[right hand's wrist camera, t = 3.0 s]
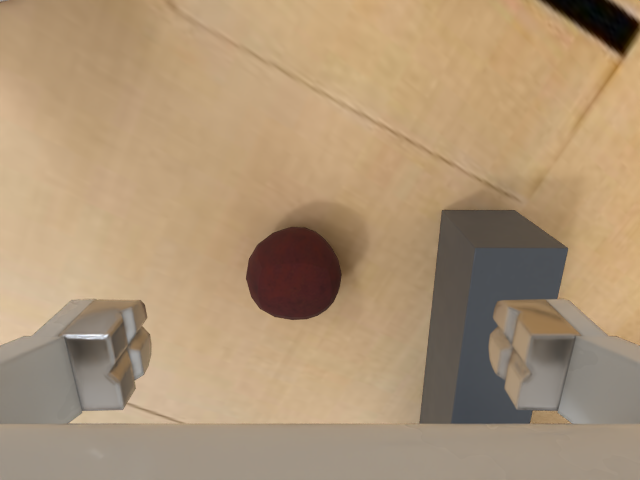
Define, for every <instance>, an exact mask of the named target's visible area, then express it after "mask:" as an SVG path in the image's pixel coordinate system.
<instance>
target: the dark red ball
mask: <svg viewBox="0 0 640 480" xmlns="http://www.w3.org/2000/svg"><path fill="white" fill-rule="evenodd" d="M246 280H247V283H248V287H249V290H250V294H251V297H252V299H253V300H254V301H255V303H256V304H257V305H258V307H259V308H260V309H261V310H263V311H265V312H267V313H269V314H271V315H272V316H274V317H279V318H284V319H290V320H299V319H309V318H312V317H315V316H318V315H319V314H321V313H322V312H324V311H325V310H327V309H328V308H329V306H330V305H331V304H332V303H333V302H334V300H335V298H336V295H337V293H338V290H339V287H340V281H341V270H340V266H339V261H338V258H337V257H336V255H335V253H334V251H333V249H332V248H331V246H330V245H329V244H328V243H327V242H326V240H325V239H324V238H323V237H321V236H320V235H319V234H318V233H316V232H314V231H312V230H310V229H307V228H302V227H290V228H287V229H284V230H281V231H277V232H274V233H272V234H271V235H270V236H268V237H267V238H266V239H264V240H263V241H262V242H261V243H259V244H258V245H257V247H256V248H255V250H254V252H253V253H252V255H251V257H250V258H249V263H248V269H247V276H246Z"/></svg>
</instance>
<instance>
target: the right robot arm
mask: <svg viewBox="0 0 640 480" xmlns="http://www.w3.org/2000/svg"><path fill="white" fill-rule="evenodd" d="M3 1H7V0H0V2H3ZM146 319H147V314H146V309H145V305H144V303H143V302H142V301H141V300H105V299H98V300H97V299H77V300H71V301H70V302H69V303H68V304H67V305H65V306H64V307H63V308H62V309H61V310H60V311H59V312H58V313H57V314H55V315H54V316H53V317H52V318H51V319H50V320H49V321H48V322H47V323H45V324H44V325H43V326H42V327H41V328H40V329H39V330H38V331H37V332H35V333H34V334H33V335H32V336H23V337H21V338H18V339H16V340H13V341H11V342H8V343H6V344H3V345H1V346H0V480H640V346H639V345H637V344H634V343H632V342H629V341H627V340H624V339H622V338H619V337H617V336H608V335H607V334H606V333H605V332H603V331H602V330H601V329H600V328H599V327H598V326H597V325H596V324H595V323H594V322H592V321H591V320H590V319H589V318H588V317H587V316H586V315H585V314H584V313H582V312H581V311H580V310H579V309H578V308H577V307H576V306H575V305H574V304H572V303H571V302H570V301H569V300H566V299H547V300H545V299H533V300H501V301H497V303H496V305H495V308H494V313H493V319H494V320H495V322H496V323H497V325H498V327H497V328H496V329H495V330H494V331H493V332H492V333H491V334H490V339H489V347H488V348H489V358H490V362H491V365H492V368H493V370H494V371H495V373H496V375H497V376H499V377H501V378H502V379H504V380H506V382H505V387H504V389H505V390H506V392H507V394H508V395H509V397H510V399H511V400H512V402H513V404H514V405H515V407H516V409H517V410H541V411H558V413H559V414H560V415H561V416H563V417H564V418H566V419H567V420H568V421H570V422H571V423H572V424H68V423H69V422H71V421H72V420H73V419H75V418H76V417H77V416H79V415H80V414H81V413H82V411H98V410H123V409H124V407H125V406H126V404H127V402H128V400H129V399H130V397H131V395H132V394H133V392H134V390H135V389H136V387H135V382H134V380H136V379H138V378H139V377H141V376H143V375H144V373H145V371H146V369H147V368H148V365H149V361H150V357H151V338H150V334H149V333H148V332H147V331H146V330H145V329H144V328H143V327H142V325H143V323H144V322H145V320H146Z"/></svg>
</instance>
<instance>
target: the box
mask: <svg viewBox="0 0 640 480" xmlns="http://www.w3.org/2000/svg"><path fill="white" fill-rule="evenodd" d="M567 252H568V248H567V247H566V246H564V245H563V244H562V243H560V242H559V241H557V240H556V239H555V238H553V237H552V236H550V235H549V234H547V233H546V232H545V231H543V230H542V229H540V228H539V227H538V226H536V225H535V224H533V223H532V222H531V221H529V220H528V219H526V218H525V217H523V216H522V215H521V214H519V213H518V212H516V211H515V210H442V216H441V225H440V235H439V244H438V253H437V263H436V272H435V282H434V291H433V301H432V310H431V320H430V329H429V339H428V348H427V358H426V367H425V377H424V386H423V395H422V405H421V414H420V424H530V420H531V415H532V411H533V410H517V409H516V407H515V405H514V404H513V402H512V400H511V399H510V397H509V395H508V394H507V392H506V390H505V389H504V387H505V382H506V380H504V379H502V378H501V377H499V376H497V375H496V373H495V371H494V370H493V368H492V365H491V362H490V358H489V348H488V347H489V339H490V334H491V333H492V332H493V331H494V330H495V329H496V328H497V327H498V325H497V323H496V322H495V320H494V319H493V313H494V308H495V305H496V303H497V301H501V300H533V299H545V300H547V299H557V297H558V293H559V288H560V284H561V279H562V275H563V270H564V265H565V261H566V256H567Z"/></svg>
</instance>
